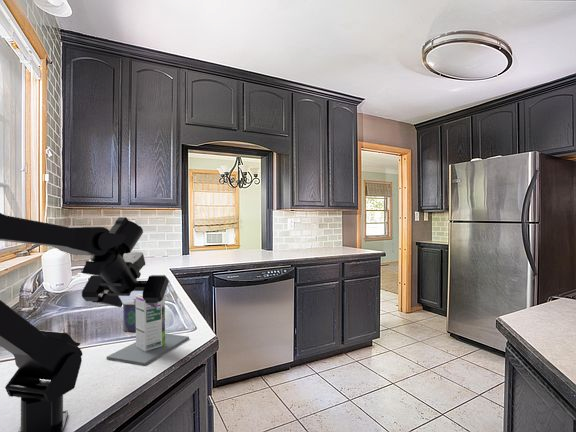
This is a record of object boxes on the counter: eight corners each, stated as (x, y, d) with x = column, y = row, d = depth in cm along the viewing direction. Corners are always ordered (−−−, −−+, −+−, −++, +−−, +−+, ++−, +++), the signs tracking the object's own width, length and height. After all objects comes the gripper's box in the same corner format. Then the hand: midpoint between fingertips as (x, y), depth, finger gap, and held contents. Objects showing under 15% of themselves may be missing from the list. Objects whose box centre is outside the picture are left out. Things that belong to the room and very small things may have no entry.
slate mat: (144, 365, 77) (144, 363, 77) (106, 359, 81) (106, 356, 81) (188, 338, 94) (188, 336, 94) (155, 334, 98) (155, 332, 98)
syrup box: (144, 352, 83) (145, 297, 83) (135, 346, 87) (135, 293, 87) (165, 345, 87) (165, 293, 88) (155, 340, 91) (155, 290, 91)
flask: (121, 332, 100) (121, 298, 100) (127, 328, 103) (128, 295, 103) (146, 334, 98) (146, 300, 98) (152, 331, 101) (152, 297, 101)
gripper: (165, 242, 75) (183, 279, 86) (89, 242, 76) (116, 279, 87) (149, 281, 67) (171, 317, 78) (65, 281, 68) (98, 316, 79)
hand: (138, 305), depth 81 cm, fingers open, 9 cm apart
